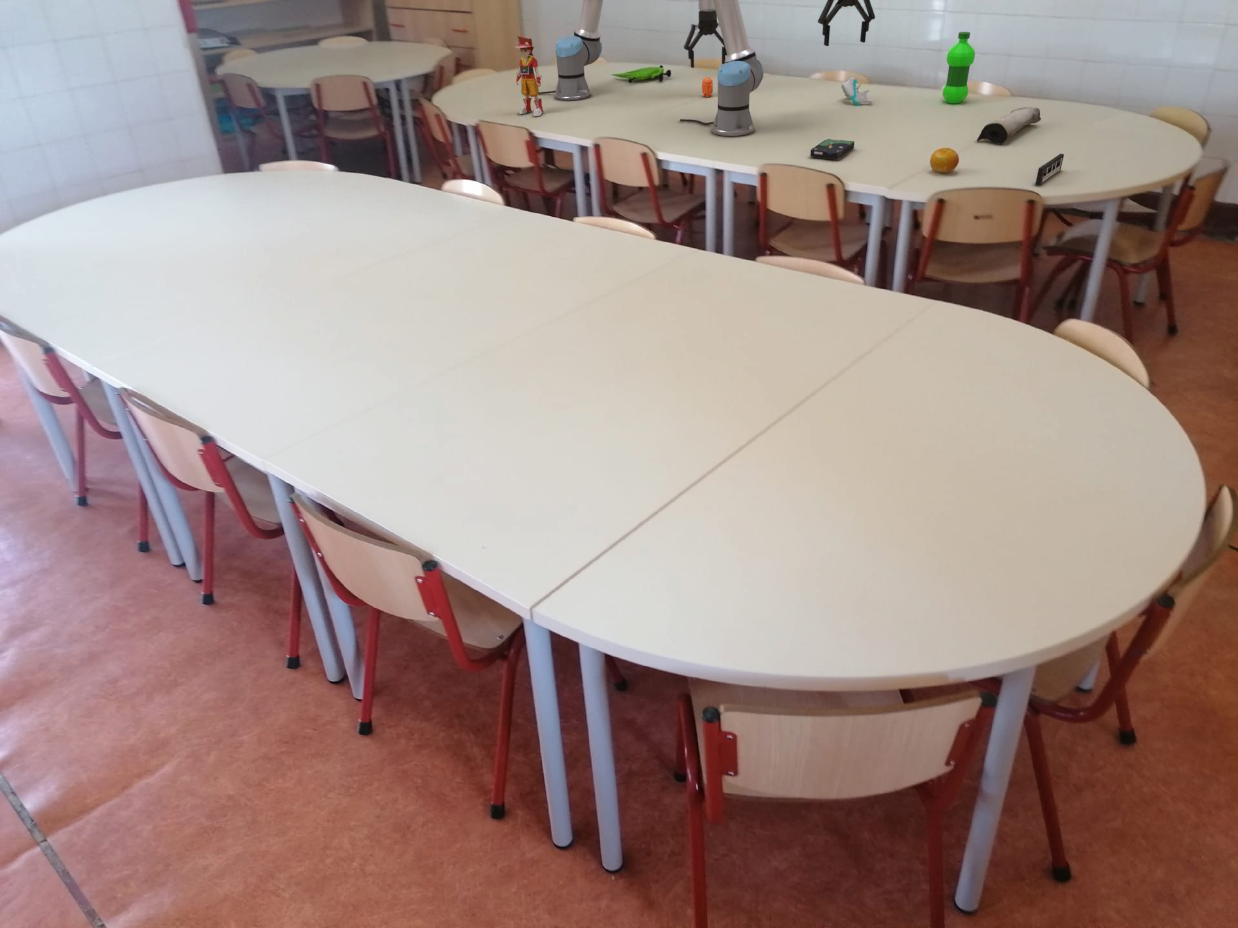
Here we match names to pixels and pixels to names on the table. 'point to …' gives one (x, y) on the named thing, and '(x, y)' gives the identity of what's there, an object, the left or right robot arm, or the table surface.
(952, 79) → the plastic bottle
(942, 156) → the fruit
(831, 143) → the disk drive
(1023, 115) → the rolled mat
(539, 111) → the toy
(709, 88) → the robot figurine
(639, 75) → the toy
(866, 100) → the anatomical model
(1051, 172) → the midi keyboard
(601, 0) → the left robot arm
